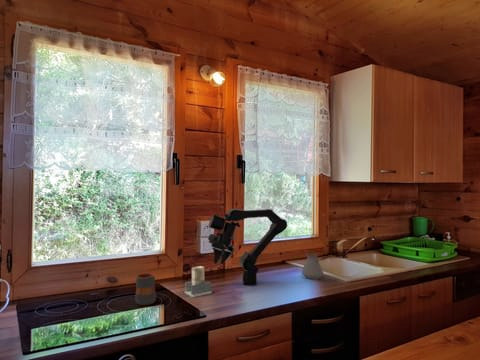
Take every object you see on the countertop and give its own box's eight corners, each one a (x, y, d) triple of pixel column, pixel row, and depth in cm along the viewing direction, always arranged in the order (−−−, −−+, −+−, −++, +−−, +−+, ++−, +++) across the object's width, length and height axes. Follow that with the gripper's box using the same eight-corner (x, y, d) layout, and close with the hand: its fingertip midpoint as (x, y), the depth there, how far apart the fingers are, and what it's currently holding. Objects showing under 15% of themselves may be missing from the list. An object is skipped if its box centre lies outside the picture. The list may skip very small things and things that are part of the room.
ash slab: (201, 289, 179) (201, 266, 179) (204, 290, 177) (204, 267, 177) (191, 291, 177) (191, 267, 176) (194, 292, 174) (194, 268, 174)
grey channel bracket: (203, 289, 183) (203, 278, 183) (211, 293, 176) (211, 282, 176) (184, 292, 177) (184, 282, 177) (192, 297, 171) (192, 286, 171)
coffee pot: (297, 276, 204) (297, 249, 204) (313, 274, 210) (313, 247, 210) (323, 286, 186) (323, 256, 186) (341, 283, 191) (341, 253, 191)
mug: (150, 296, 173) (150, 270, 173) (158, 303, 162) (158, 276, 162) (131, 299, 169) (131, 273, 168) (138, 307, 158) (137, 279, 158)
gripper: (219, 231, 200) (210, 259, 197) (206, 226, 182) (196, 258, 180) (239, 236, 196) (230, 266, 194) (227, 233, 179) (217, 265, 176)
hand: (218, 263), depth 186 cm, fingers open, 9 cm apart
